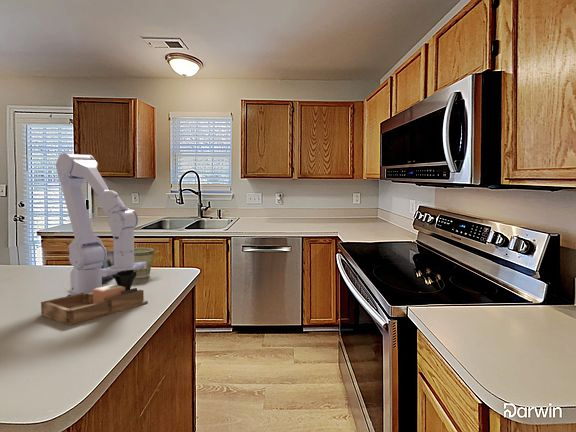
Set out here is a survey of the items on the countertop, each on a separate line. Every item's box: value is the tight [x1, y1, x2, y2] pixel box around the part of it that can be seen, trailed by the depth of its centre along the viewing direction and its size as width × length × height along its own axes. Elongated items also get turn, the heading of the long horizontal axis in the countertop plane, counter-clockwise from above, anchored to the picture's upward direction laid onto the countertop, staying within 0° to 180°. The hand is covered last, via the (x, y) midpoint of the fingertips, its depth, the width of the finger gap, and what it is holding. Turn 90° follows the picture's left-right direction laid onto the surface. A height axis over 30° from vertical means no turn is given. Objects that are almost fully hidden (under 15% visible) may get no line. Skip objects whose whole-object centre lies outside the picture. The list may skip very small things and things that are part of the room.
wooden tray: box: [40, 287, 149, 326], centre depth 125 cm, size 13×24×4 cm, turn 146°
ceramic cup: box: [134, 247, 162, 279], centre depth 165 cm, size 13×10×10 cm
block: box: [93, 284, 125, 304], centre depth 128 cm, size 5×7×5 cm
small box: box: [101, 249, 115, 284], centre depth 156 cm, size 11×6×10 cm, turn 168°
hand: (124, 296), depth 132 cm, fingers closed
